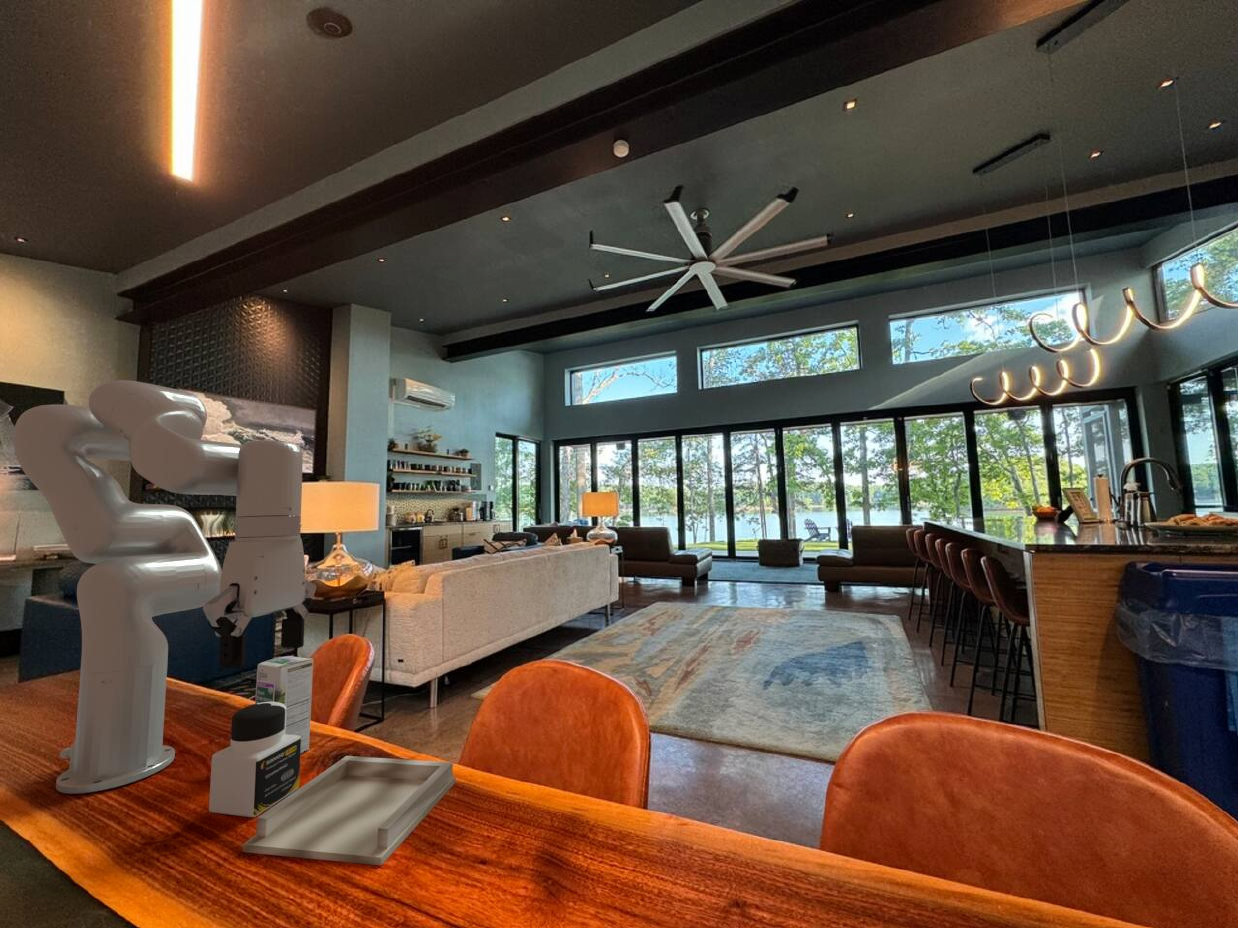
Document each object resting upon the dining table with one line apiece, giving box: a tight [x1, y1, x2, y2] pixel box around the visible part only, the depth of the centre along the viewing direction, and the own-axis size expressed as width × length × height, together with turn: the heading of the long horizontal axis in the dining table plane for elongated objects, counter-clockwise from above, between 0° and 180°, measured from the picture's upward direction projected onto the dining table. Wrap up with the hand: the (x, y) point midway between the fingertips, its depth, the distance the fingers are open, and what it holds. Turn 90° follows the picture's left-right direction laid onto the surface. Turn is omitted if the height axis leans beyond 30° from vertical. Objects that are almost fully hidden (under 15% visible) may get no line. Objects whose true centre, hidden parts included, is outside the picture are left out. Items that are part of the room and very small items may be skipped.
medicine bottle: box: [208, 702, 301, 818], centre depth 69 cm, size 7×7×12 cm
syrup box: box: [254, 655, 314, 755], centre depth 82 cm, size 6×6×14 cm
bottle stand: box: [242, 755, 457, 866], centre depth 65 cm, size 17×17×3 cm
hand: (264, 656), depth 70 cm, fingers open, 9 cm apart
